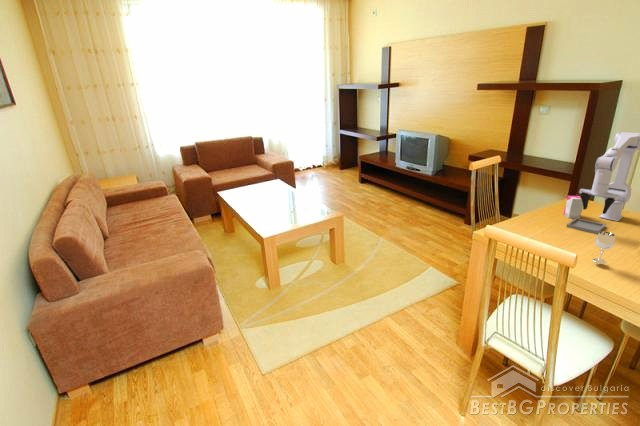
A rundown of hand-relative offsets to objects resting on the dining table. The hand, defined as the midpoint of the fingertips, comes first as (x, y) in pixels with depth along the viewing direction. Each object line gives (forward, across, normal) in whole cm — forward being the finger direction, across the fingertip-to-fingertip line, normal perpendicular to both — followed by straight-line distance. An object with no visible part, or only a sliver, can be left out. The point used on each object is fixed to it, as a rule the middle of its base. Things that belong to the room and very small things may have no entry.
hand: (594, 211), depth 158 cm
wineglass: (+11, +15, -29) cm, 34 cm away
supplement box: (+11, -14, +15) cm, 23 cm away
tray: (+11, -4, +6) cm, 13 cm away
